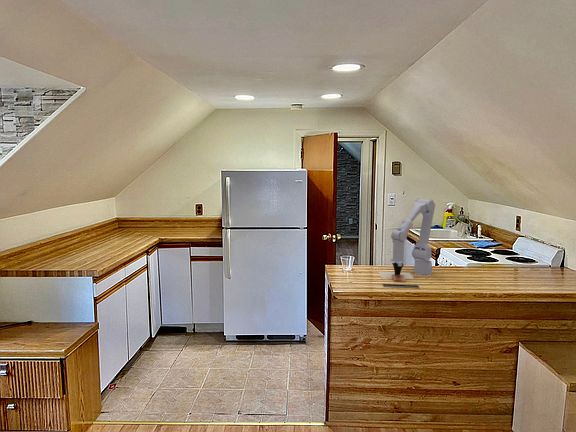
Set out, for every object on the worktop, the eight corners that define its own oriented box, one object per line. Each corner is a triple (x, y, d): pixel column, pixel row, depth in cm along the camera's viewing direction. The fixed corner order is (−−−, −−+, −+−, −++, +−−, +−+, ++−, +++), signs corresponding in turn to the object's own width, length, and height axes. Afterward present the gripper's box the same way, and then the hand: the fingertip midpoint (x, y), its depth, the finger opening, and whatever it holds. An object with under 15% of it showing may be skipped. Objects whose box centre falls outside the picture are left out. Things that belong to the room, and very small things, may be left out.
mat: (414, 280, 228) (414, 280, 228) (419, 288, 215) (419, 287, 215) (380, 279, 230) (380, 279, 230) (383, 287, 216) (383, 286, 216)
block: (403, 278, 229) (403, 274, 229) (405, 283, 221) (405, 280, 221) (391, 277, 230) (392, 274, 229) (393, 283, 222) (394, 280, 221)
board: (409, 274, 241) (409, 272, 241) (414, 280, 228) (414, 278, 228) (378, 273, 243) (378, 271, 243) (380, 279, 230) (380, 277, 230)
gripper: (389, 249, 236) (388, 272, 238) (392, 254, 222) (391, 279, 223) (401, 249, 235) (400, 273, 237) (406, 254, 221) (405, 279, 223)
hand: (397, 276), depth 230 cm, fingers closed
